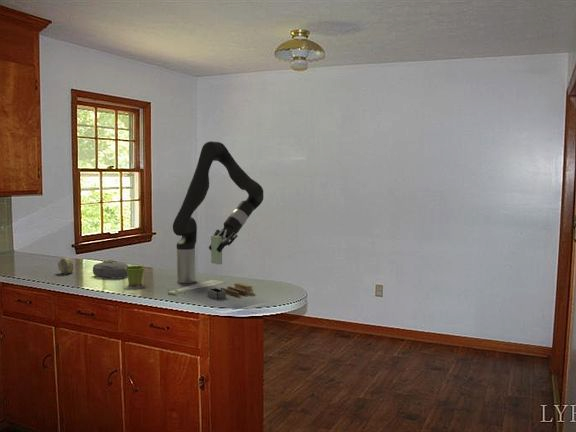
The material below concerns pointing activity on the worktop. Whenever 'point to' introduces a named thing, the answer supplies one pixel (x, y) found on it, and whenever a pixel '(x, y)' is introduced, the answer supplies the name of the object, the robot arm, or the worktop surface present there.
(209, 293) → the grey holder
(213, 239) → the green board
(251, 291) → the pine offcut low
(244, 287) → the pine offcut top
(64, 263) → the garlic bulb
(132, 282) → the plant pot
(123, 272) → the small grey backpack
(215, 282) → the baseboard molding
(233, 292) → the walnut rack
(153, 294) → the worktop surface
